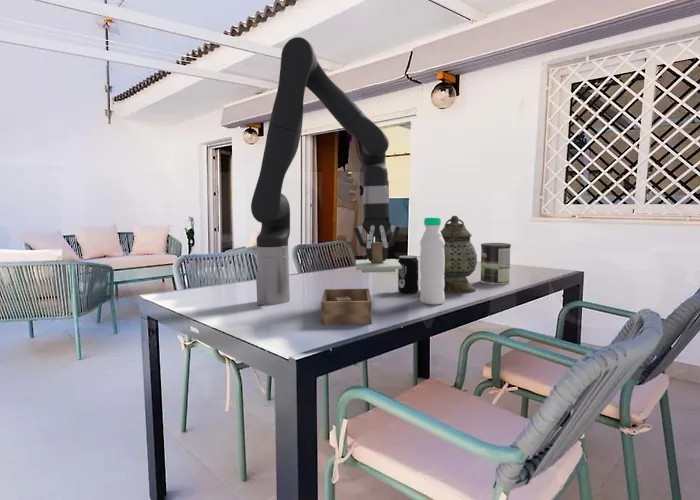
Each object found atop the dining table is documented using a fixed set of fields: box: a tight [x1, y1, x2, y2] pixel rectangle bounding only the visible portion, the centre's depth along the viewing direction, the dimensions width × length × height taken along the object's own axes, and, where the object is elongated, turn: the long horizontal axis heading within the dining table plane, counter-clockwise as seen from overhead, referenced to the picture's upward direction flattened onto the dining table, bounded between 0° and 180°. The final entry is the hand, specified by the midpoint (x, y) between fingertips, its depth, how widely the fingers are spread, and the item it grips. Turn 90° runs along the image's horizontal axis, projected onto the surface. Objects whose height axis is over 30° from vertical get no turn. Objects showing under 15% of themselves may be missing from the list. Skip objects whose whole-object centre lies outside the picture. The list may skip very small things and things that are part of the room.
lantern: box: [440, 215, 478, 295], centre depth 142 cm, size 14×14×25 cm
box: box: [320, 288, 373, 326], centre depth 109 cm, size 12×16×6 cm
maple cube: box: [335, 296, 351, 301], centre depth 114 cm, size 4×4×4 cm
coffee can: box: [480, 242, 512, 286], centre depth 155 cm, size 10×10×14 cm
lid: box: [355, 241, 402, 274], centre depth 126 cm, size 13×17×8 cm
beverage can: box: [397, 254, 419, 295], centre depth 140 cm, size 7×7×12 cm
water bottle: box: [419, 216, 445, 306], centre depth 124 cm, size 7×7×25 cm
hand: (377, 260), depth 126 cm, fingers closed on lid, 3 cm apart
